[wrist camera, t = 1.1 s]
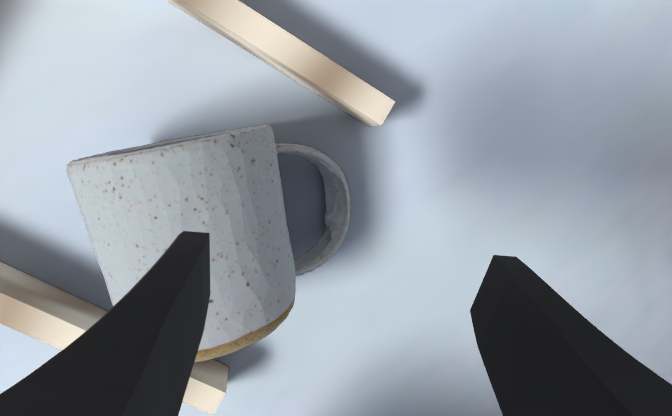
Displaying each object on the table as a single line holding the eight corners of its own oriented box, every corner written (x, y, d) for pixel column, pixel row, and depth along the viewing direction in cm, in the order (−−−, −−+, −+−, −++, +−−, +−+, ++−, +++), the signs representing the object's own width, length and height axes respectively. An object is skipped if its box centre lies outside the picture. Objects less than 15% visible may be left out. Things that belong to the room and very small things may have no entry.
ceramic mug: (150, 319, 23) (102, 405, 16) (101, 153, 22) (23, 162, 14) (358, 266, 25) (406, 322, 17) (326, 108, 23) (363, 94, 16)
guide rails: (381, 105, 23) (395, 101, 21) (217, 386, 24) (213, 414, 22) (1, -137, 19) (-36, -177, 17) (-180, 209, 20) (-240, 219, 18)
